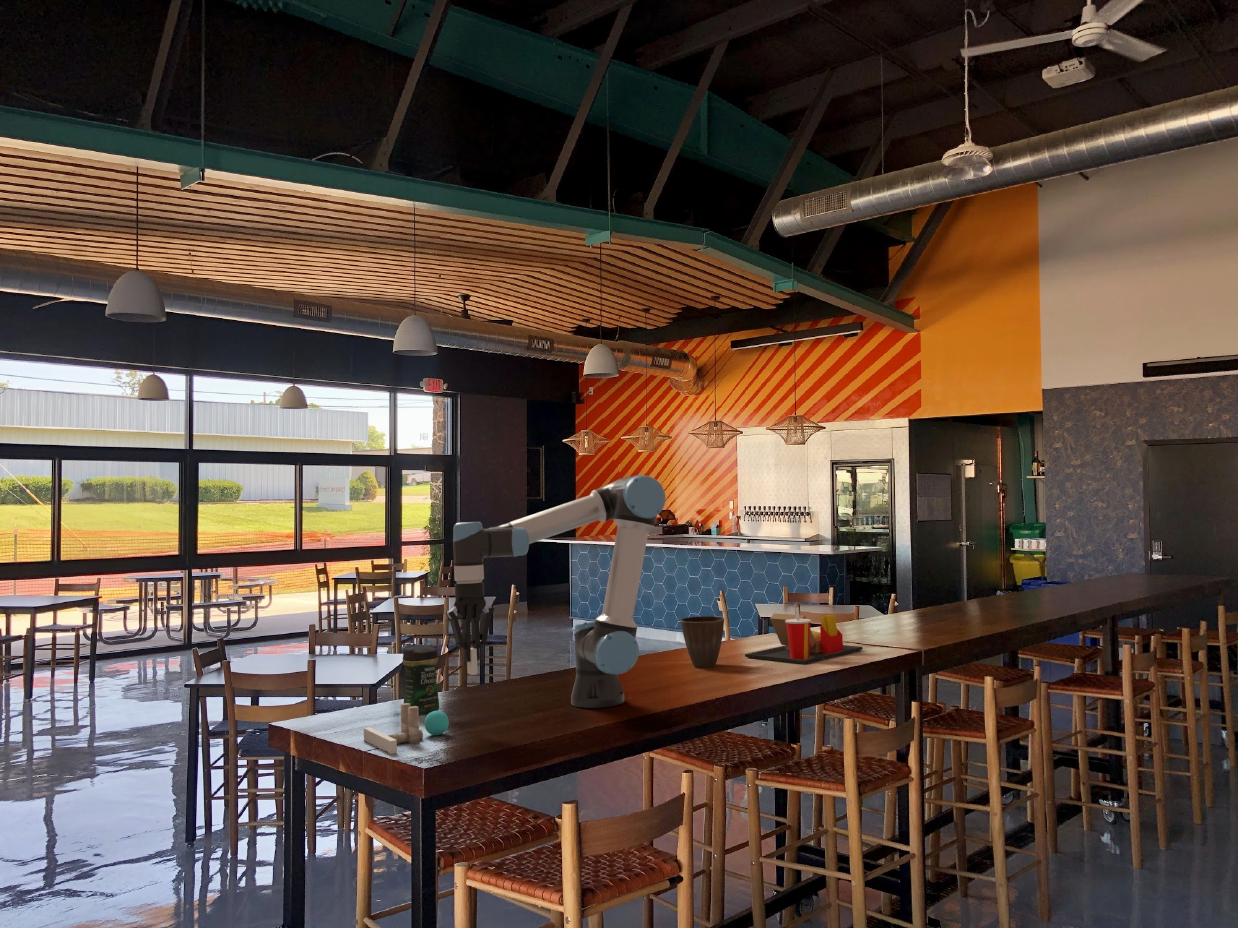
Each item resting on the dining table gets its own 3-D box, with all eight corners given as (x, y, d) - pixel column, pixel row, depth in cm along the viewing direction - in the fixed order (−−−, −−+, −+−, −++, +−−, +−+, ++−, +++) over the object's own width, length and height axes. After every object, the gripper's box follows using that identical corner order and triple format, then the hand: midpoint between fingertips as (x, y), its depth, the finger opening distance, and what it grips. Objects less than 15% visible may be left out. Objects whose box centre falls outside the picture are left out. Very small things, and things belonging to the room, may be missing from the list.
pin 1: (409, 737, 231) (408, 702, 231) (412, 738, 229) (411, 704, 229) (399, 738, 229) (398, 704, 230) (403, 740, 227) (402, 705, 228)
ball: (416, 727, 232) (435, 739, 234) (425, 728, 227) (444, 740, 229) (428, 705, 235) (447, 717, 237) (437, 706, 230) (456, 717, 232)
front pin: (419, 728, 229) (386, 734, 225) (422, 730, 227) (389, 736, 223) (419, 737, 229) (385, 743, 225) (422, 740, 227) (389, 746, 223)
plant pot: (728, 668, 307) (726, 620, 308) (683, 670, 308) (681, 622, 308) (724, 661, 322) (722, 615, 323) (681, 663, 323) (679, 617, 323)
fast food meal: (862, 652, 332) (859, 600, 333) (804, 666, 309) (801, 610, 310) (804, 646, 351) (802, 597, 352) (745, 659, 328) (742, 607, 328)
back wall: (369, 739, 230) (369, 726, 230) (397, 752, 216) (396, 739, 216) (363, 740, 229) (363, 727, 230) (390, 754, 215) (390, 741, 215)
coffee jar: (414, 717, 253) (412, 649, 254) (399, 713, 259) (397, 646, 260) (444, 711, 260) (442, 644, 261) (429, 707, 266) (427, 642, 266)
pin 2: (417, 740, 226) (416, 705, 227) (420, 742, 225) (419, 707, 225) (407, 742, 225) (406, 707, 226) (411, 744, 223) (410, 708, 224)
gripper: (485, 579, 245) (488, 668, 244) (439, 583, 238) (442, 675, 237) (498, 580, 239) (501, 672, 238) (452, 584, 232) (455, 679, 231)
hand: (472, 673), depth 237 cm, fingers closed
